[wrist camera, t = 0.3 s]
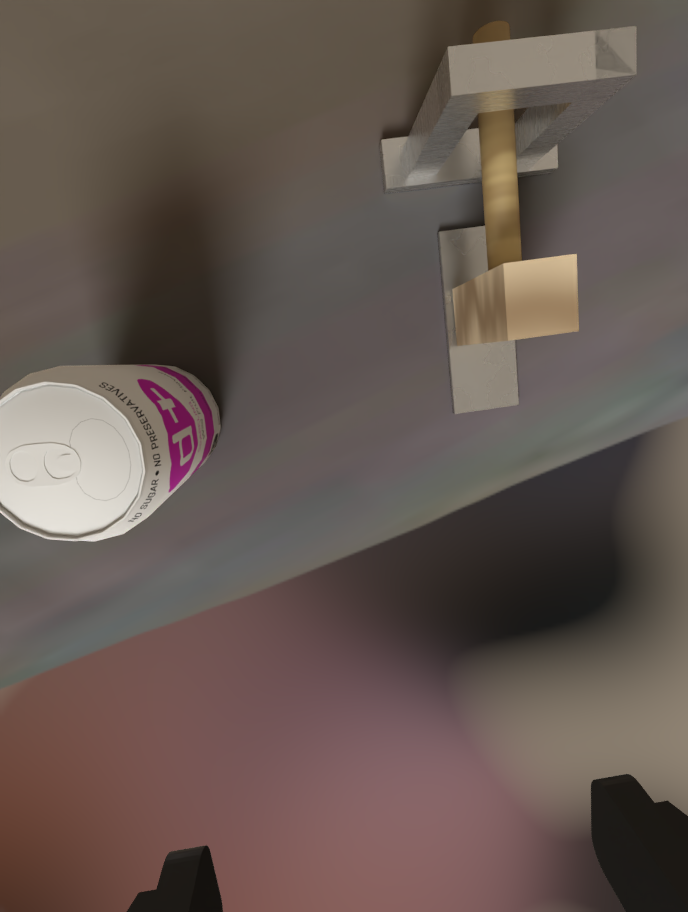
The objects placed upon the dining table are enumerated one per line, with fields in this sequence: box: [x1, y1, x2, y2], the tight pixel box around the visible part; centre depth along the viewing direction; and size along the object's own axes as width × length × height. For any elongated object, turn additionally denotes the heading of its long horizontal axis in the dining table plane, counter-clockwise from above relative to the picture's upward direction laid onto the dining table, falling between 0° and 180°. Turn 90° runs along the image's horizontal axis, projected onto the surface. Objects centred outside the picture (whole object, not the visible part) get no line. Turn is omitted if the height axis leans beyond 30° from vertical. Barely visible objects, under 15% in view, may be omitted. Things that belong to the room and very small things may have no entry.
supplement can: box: [0, 364, 221, 541], centre depth 27 cm, size 8×8×15 cm
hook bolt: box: [452, 21, 579, 346], centre depth 28 cm, size 17×4×9 cm, turn 8°
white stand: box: [379, 26, 637, 414], centre depth 29 cm, size 19×12×11 cm, turn 8°
